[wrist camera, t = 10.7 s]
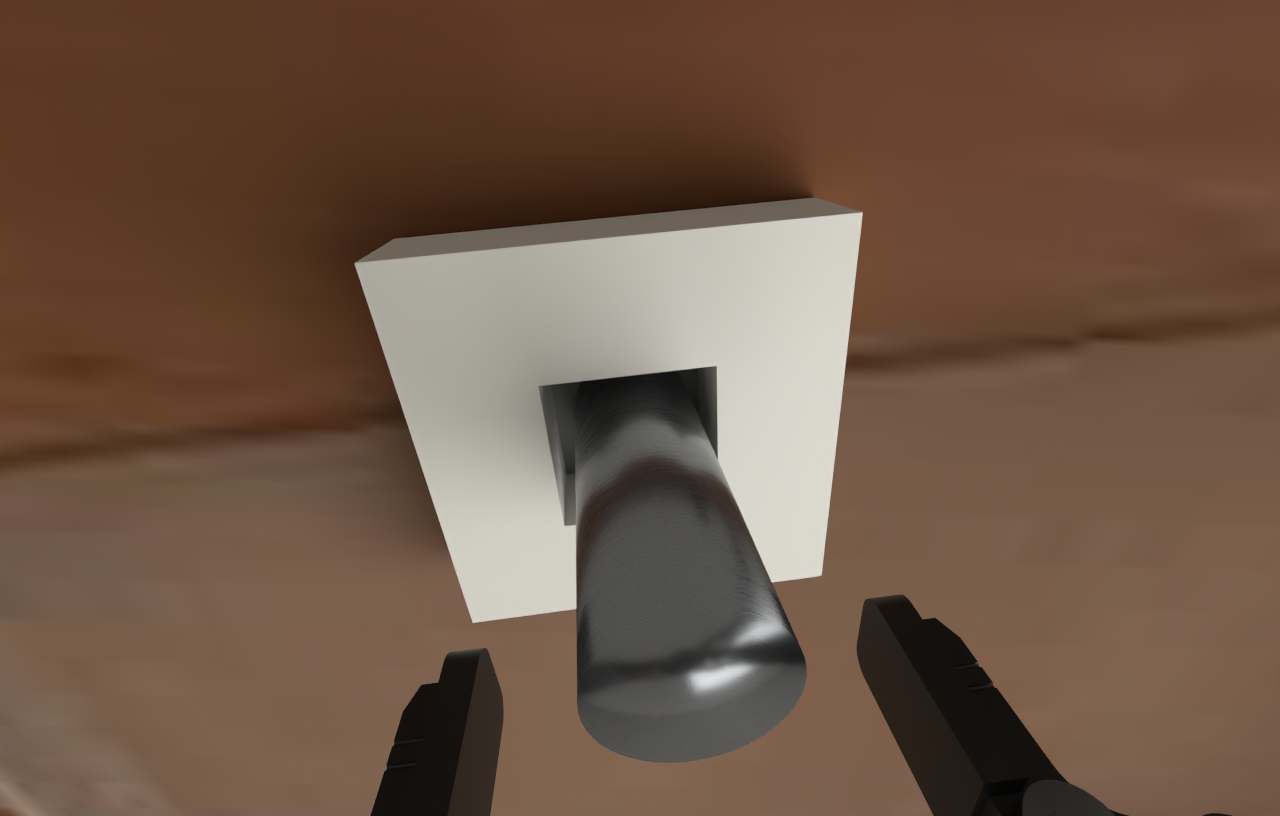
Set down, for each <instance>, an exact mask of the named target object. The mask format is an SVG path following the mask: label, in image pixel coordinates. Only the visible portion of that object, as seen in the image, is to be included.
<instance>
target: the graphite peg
mask: <svg viewBox="0 0 1280 816" xmlns="http://www.w3.org/2000/svg"><path fill="white" fill-rule="evenodd" d="M575 491H576V611H577V705H578V713H579V716H580V719H581V722H582V723H583V725H584V727H585V729H586V730H587V731H588V733H589V734H590V735H591V736H592V737H593V738H594V739H595V740H596V741H598V742H599V743H600V744H601V745H603V746H605V747H606V748H608V749H609V750H612V751H614V752H616V753H618V754H621V755H624V756H627V757H630V758H634V759H638V760H643V761H651V762H668V763H671V762H687V761H695V760H700V759H705V758H710V757H714V756H717V755H721V754H724V753H727V752H730V751H733V750H735V749H738V748H740V747H742V746H744V745H747V744H749V743H751V742H752V741H754V740H756V739H758V738H760V737H761V736H763V735H764V734H766V733H767V732H769V731H770V730H771V729H773V728H774V727H775V726H776V725H777V724H779V723H780V722H781V721H782V720H783V719H784V718H785V717H786V716H787V715H788V714H789V713H790V711H791V710H792V709H793V707H794V706H795V705H796V703H797V701H798V700H799V698H800V696H801V694H802V691H803V689H804V686H805V681H806V668H807V667H806V662H805V657H804V655H803V653H802V650H801V648H800V646H799V643H798V641H797V639H796V637H795V634H794V632H793V630H792V628H791V625H790V623H789V621H788V618H787V616H786V614H785V612H784V609H783V607H782V605H781V603H780V600H779V598H778V596H777V593H776V591H775V589H774V587H773V584H772V582H771V580H770V577H769V575H768V573H767V571H766V568H765V566H764V564H763V562H762V559H761V557H760V555H759V552H758V550H757V548H756V546H755V543H754V541H753V539H752V537H751V534H750V532H749V530H748V527H747V525H746V523H745V521H744V518H743V516H742V514H741V512H740V509H739V507H738V505H737V502H736V500H735V498H734V496H733V493H732V491H731V489H730V486H729V484H728V482H727V480H726V477H725V475H724V473H723V471H722V468H721V466H720V464H719V461H718V459H717V457H716V455H715V452H714V450H713V448H712V446H711V443H710V441H709V439H708V436H707V434H706V432H705V430H704V427H703V425H702V423H701V421H700V418H699V416H698V414H697V411H696V409H695V407H694V405H693V402H692V400H691V398H690V396H689V393H688V391H687V389H686V386H685V384H684V382H683V380H682V378H681V377H680V375H679V374H678V372H677V371H668V372H659V373H650V374H641V375H632V376H623V377H615V378H606V379H597V380H588V381H582V382H581V384H580V386H579V388H578V391H577V394H576V398H575Z"/></svg>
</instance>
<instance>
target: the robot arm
mask: <svg viewBox="0 0 1280 816" xmlns="http://www.w3.org/2000/svg"><path fill="white" fill-rule="evenodd" d="M857 656H858V661H859V665H860V668H861V671H862V673H863V676H864V678H865V680H866V682H867V684H868V686H869V688H870V690H871V692H872V694H873V696H874V698H875V700H876V702H877V704H878V706H879V708H880V710H881V712H882V714H883V716H884V718H885V720H886V722H887V724H888V726H889V728H890V730H891V732H892V734H893V736H894V738H895V740H896V742H897V744H898V746H899V748H900V750H901V752H902V754H903V756H904V758H905V759H906V761H907V763H908V765H909V767H910V769H911V771H912V773H913V775H914V777H915V779H916V781H917V783H918V785H919V787H920V789H921V791H922V793H923V795H924V797H925V799H926V801H927V803H928V805H929V807H930V809H931V811H932V813H933V815H934V816H1127V815H1124V814H1120V813H1117V812H1115V811H1112V810H1109V809H1108V808H1107V807H1106V806H1105V805H1104V804H1103V803H1101V802H1100V801H1099V800H1097V799H1096V798H1095V797H1094V796H1092V795H1091V794H1089V793H1087V792H1086V791H1084V790H1082V789H1080V788H1078V787H1076V786H1074V785H1072V784H1070V783H1068V782H1067V781H1066V780H1065V779H1064V777H1063V776H1062V775H1061V774H1060V773H1059V772H1058V771H1057V770H1056V768H1055V767H1054V766H1053V765H1052V763H1051V762H1050V760H1049V759H1048V758H1047V756H1046V755H1045V754H1044V752H1043V751H1042V749H1041V748H1040V747H1039V745H1038V744H1037V743H1036V741H1035V740H1034V738H1033V737H1032V736H1031V734H1030V733H1029V732H1028V730H1027V729H1026V727H1025V726H1024V725H1023V723H1022V722H1021V721H1020V719H1019V718H1018V716H1017V715H1016V714H1015V712H1014V711H1013V710H1012V708H1011V707H1010V705H1009V704H1008V703H1007V701H1006V700H1005V699H1004V697H1003V696H1002V694H1001V693H1000V692H999V690H998V689H997V688H994V686H993V682H992V681H991V679H990V678H989V677H988V675H987V674H986V673H985V671H984V670H983V668H982V667H979V665H978V662H977V660H976V659H975V657H974V656H973V655H972V653H971V652H970V651H969V649H968V648H967V646H966V645H965V644H964V642H963V641H962V640H961V638H960V637H959V636H957V635H956V634H955V633H954V632H952V631H951V630H950V629H948V628H947V627H946V626H945V625H943V624H942V623H941V622H940V621H938V620H937V619H936V618H931V619H924V620H922V618H921V617H920V615H919V614H918V612H917V611H916V609H915V608H914V606H913V605H912V603H911V602H910V601H909V600H908V599H907V597H905V596H904V595H893V596H886V597H878V598H870V599H866V600H865V602H864V605H863V611H862V617H861V623H860V629H859V635H858V641H857ZM502 726H503V697H502V692H501V689H500V686H499V682H498V679H497V676H496V673H495V670H494V667H493V664H492V661H491V658H490V655H489V652H488V650H487V649H486V648H479V649H471V650H464V651H456V652H450V653H448V654H447V656H446V658H445V660H444V663H443V667H442V671H441V675H440V678H439V682H438V683H432V684H425V685H421V686H420V688H419V689H418V691H417V692H416V694H415V695H414V697H413V698H412V699H411V701H410V702H409V704H408V705H407V707H406V708H405V710H404V711H403V714H402V717H401V720H400V723H399V727H398V730H397V733H396V736H395V739H394V746H392V749H391V752H390V755H389V759H388V762H387V770H386V771H384V775H383V778H382V781H381V784H380V787H379V791H378V794H377V797H376V800H375V804H374V807H373V810H372V813H371V816H490V812H491V805H492V798H493V791H494V784H495V777H496V769H497V762H498V755H499V748H500V741H501V734H502ZM1203 816H1231V815H1226V814H1219V813H1211V814H1206V815H1203Z"/></svg>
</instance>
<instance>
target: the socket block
mask: <svg viewBox="0 0 1280 816" xmlns="http://www.w3.org/2000/svg"><path fill="white" fill-rule="evenodd" d="M862 214H863V212H860V211H857V210H854V209H850V208H847V207H844V206H841V205H837V204H834V203H831V202H828V201H824V200H821V199H818V198H804V199H794V200H784V201H774V202H763V203H753V204H743V205H733V206H723V207H712V208H702V209H692V210H682V211H672V212H661V213H651V214H641V215H631V216H621V217H610V218H600V219H590V220H580V221H570V222H559V223H549V224H539V225H529V226H519V227H508V228H498V229H488V230H478V231H468V232H457V233H447V234H437V235H427V236H417V237H406V238H396V239H393V240H391V241H390V242H388V243H386V244H385V245H383V246H382V247H380V248H378V249H377V250H375V251H373V252H372V253H370V254H368V255H367V256H365V257H364V258H362V259H360V260H359V261H357V262H355V263H354V264H355V267H356V270H357V273H358V276H359V279H360V282H361V285H362V288H363V291H364V294H365V297H366V300H367V303H368V306H369V309H370V312H371V315H372V318H373V321H374V324H375V327H376V330H377V334H378V337H379V340H380V343H381V346H382V349H383V352H384V355H385V358H386V361H387V364H388V367H389V370H390V373H391V376H392V379H393V382H394V385H395V388H396V391H397V394H398V397H399V400H400V403H401V406H402V409H403V412H404V415H405V418H406V421H407V425H408V428H409V431H410V434H411V437H412V440H413V443H414V446H415V449H416V452H417V455H418V458H419V461H420V464H421V467H422V470H423V473H424V476H425V479H426V482H427V485H428V488H429V491H430V494H431V497H432V500H433V503H434V506H435V509H436V512H437V516H438V519H439V522H440V525H441V528H442V531H443V534H444V537H445V540H446V543H447V546H448V549H449V552H450V555H451V558H452V561H453V564H454V567H455V570H456V573H457V576H458V579H459V582H460V585H461V588H462V591H463V594H464V597H465V600H466V603H467V607H468V610H469V613H470V616H471V619H472V622H473V623H475V622H483V621H490V620H497V619H505V618H512V617H520V616H527V615H534V614H542V613H549V612H557V611H564V610H571V609H576V491H575V398H576V394H577V391H578V388H579V386H580V384H581V382H582V381H588V380H597V379H606V378H615V377H623V376H632V375H641V374H650V373H659V372H668V371H677V372H678V374H679V375H680V377H681V378H682V380H683V382H684V384H685V386H686V389H687V391H688V393H689V396H690V398H691V400H692V402H693V405H694V407H695V409H696V411H697V414H698V416H699V418H700V421H701V423H702V425H703V427H704V430H705V432H706V434H707V436H708V439H709V441H710V443H711V446H712V448H713V450H714V452H715V455H716V457H717V459H718V461H719V464H720V466H721V468H722V471H723V473H724V475H725V477H726V480H727V482H728V484H729V486H730V489H731V491H732V493H733V496H734V498H735V500H736V502H737V505H738V507H739V509H740V512H741V514H742V516H743V518H744V521H745V523H746V525H747V527H748V530H749V532H750V534H751V537H752V539H753V541H754V543H755V546H756V548H757V550H758V552H759V555H760V557H761V559H762V562H763V564H764V566H765V568H766V571H767V573H768V575H769V577H770V580H771V582H778V581H786V580H793V579H801V578H808V577H815V576H821V575H822V566H823V557H824V548H825V539H826V531H827V522H828V513H829V504H830V495H831V487H832V478H833V469H834V460H835V452H836V443H837V434H838V425H839V416H840V408H841V399H842V390H843V381H844V372H845V364H846V355H847V346H848V337H849V329H850V320H851V311H852V302H853V293H854V285H855V276H856V267H857V258H858V249H859V241H860V232H861V223H862Z"/></svg>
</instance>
